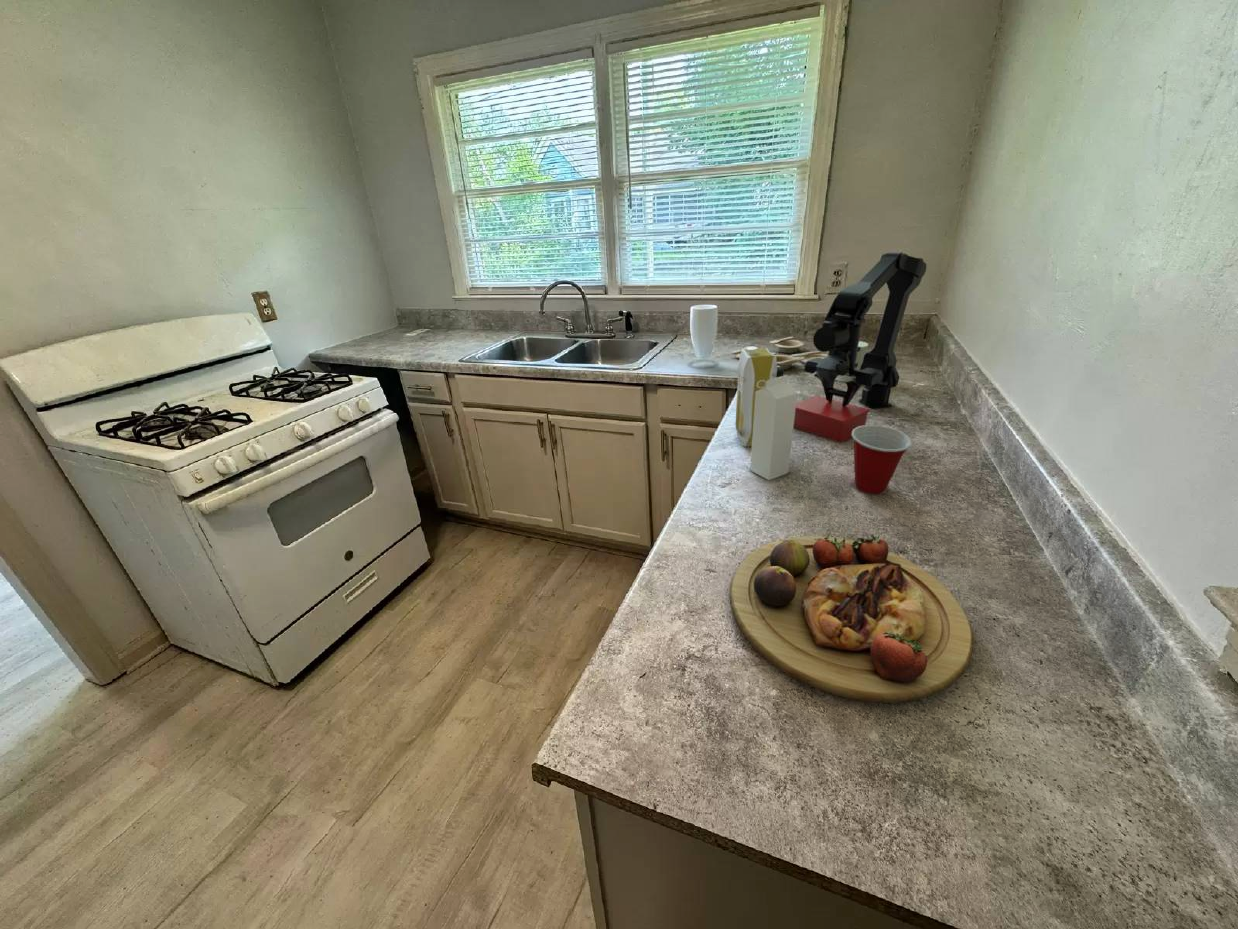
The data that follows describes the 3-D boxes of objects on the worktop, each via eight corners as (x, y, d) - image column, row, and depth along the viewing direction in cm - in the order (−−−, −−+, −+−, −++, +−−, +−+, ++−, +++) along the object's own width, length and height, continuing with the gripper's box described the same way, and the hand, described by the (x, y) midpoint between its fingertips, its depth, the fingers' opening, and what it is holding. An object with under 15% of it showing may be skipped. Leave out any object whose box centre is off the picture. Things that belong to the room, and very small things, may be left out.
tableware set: (725, 355, 200) (726, 345, 198) (784, 344, 209) (785, 334, 208) (783, 376, 171) (784, 365, 169) (848, 363, 180) (849, 352, 178)
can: (832, 381, 163) (837, 345, 158) (833, 373, 171) (838, 338, 166) (863, 383, 160) (869, 346, 155) (862, 374, 168) (868, 339, 162)
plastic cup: (876, 507, 96) (887, 451, 91) (831, 484, 105) (839, 432, 99) (912, 491, 100) (925, 437, 95) (866, 470, 109) (876, 420, 104)
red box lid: (815, 398, 137) (817, 381, 135) (869, 412, 126) (872, 394, 124) (789, 408, 132) (791, 391, 129) (843, 424, 120) (846, 406, 118)
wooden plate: (1022, 723, 56) (1046, 672, 52) (733, 694, 61) (736, 646, 57) (917, 550, 84) (928, 509, 80) (726, 541, 89) (728, 502, 85)
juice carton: (733, 433, 131) (737, 343, 120) (762, 432, 131) (769, 341, 120) (741, 448, 123) (746, 353, 112) (773, 446, 122) (781, 351, 112)
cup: (720, 362, 192) (722, 304, 182) (710, 369, 184) (711, 309, 174) (696, 359, 197) (696, 303, 187) (684, 366, 189) (684, 308, 179)
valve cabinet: (811, 415, 139) (813, 398, 137) (864, 430, 128) (867, 413, 126) (787, 425, 134) (789, 408, 132) (841, 442, 122) (843, 424, 120)
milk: (788, 473, 110) (800, 378, 100) (768, 480, 108) (778, 384, 98) (768, 463, 115) (777, 371, 105) (749, 470, 113) (756, 376, 102)
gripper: (794, 343, 126) (788, 401, 133) (864, 356, 112) (853, 420, 119) (819, 335, 131) (812, 391, 138) (889, 347, 118) (877, 408, 125)
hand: (837, 402), depth 130 cm, fingers closed on red box lid, 5 cm apart
